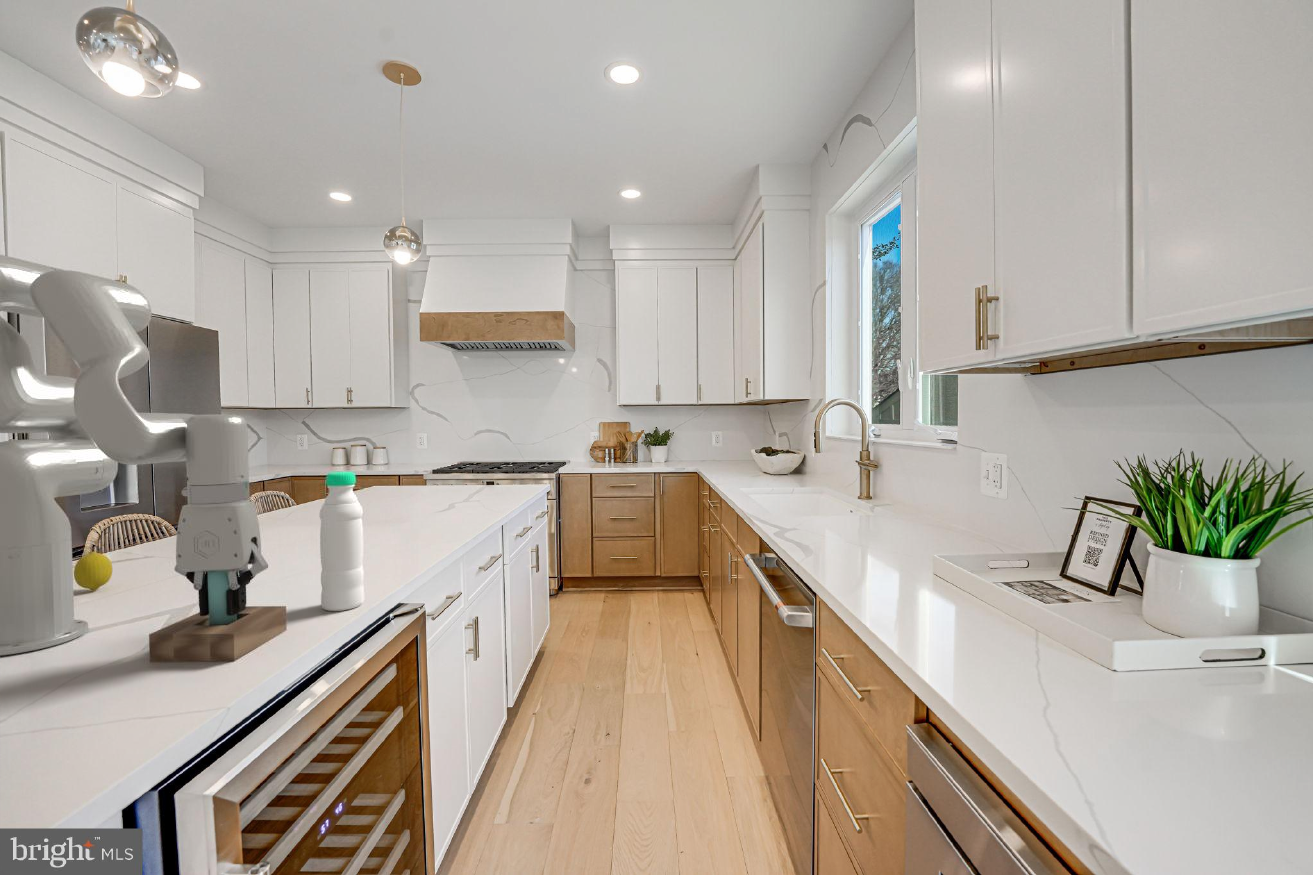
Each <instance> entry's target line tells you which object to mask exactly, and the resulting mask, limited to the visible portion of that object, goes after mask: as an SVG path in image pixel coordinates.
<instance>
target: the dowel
mask: <svg viewBox="0 0 1313 875" xmlns="http://www.w3.org/2000/svg"><path fill="white" fill-rule="evenodd" d="M229 589H231V588H230V584H229V578H228V572H227V571H211V572H208V602H209V625H229V624H231V623H233V622H235V621H237V614H235V615H233V616H228V615H227V601H226V592H227V590H229Z"/></svg>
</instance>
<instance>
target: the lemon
mask: <svg viewBox="0 0 1313 875" xmlns="http://www.w3.org/2000/svg"><path fill="white" fill-rule="evenodd" d="M112 575H113V564H112V561H111V559H110V558H109V557H108V556H106V555H105V554H103V553H98V552H96V551H90V552H89V553H87V554H86V555H84V556H82V557H81V558H79V560H78V561H77V562H76V564H75V566H74V570H73V579H74V580H75V582H76V584H77V585H78V586H79V587H80V588H84V589H88V590H89V591H91V592H95V591H97V590H98V589H99V588H100V587H102V586H105V585H107V583H108V582H110V579H111V578H112Z"/></svg>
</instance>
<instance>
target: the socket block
mask: <svg viewBox="0 0 1313 875" xmlns="http://www.w3.org/2000/svg"><path fill="white" fill-rule="evenodd" d="M286 631H287V606H285V605H282V606H281V605H280V606H279V605H278V606H277V605H273V606H272V605H269V606H268V605H267V606H266V605H263V606H262V605H258V606H255V605H254V606H253V605H252V606H248V605H246V608H245V610H243V611H241V612H239V613H237V621H235V622H233V623H231V624H229V625H209V614H208V615H206V616H200V611H199V612H196V613H195V614H192V615H190V616H188V617H186V618H185V617H184V618H183V619H181V620H178V621H176V622H174V623H172V624H170V625H167V626H165V627H162V628H160V629H158V630H156V631H153V632H151V633H149V634H148V643H149V644H148V646H149V647H148V649H149V662H150V663H151V662H152V663H154V662H155V663H157V662H158V663H166V662H168V663H170V662H175V663H176V662H179V663H180V662H181V663H182V662H184V663H185V662H235V661H237V660H239V659H241V658H242V657H244V656H245V655H248V654H249V653H250V652H252V651H254V650H256V649H257V648H259V647H261V646H263V645H265V643H267V642H269V641H271V640H273V639H275V638H276V637H277V636H279V635H281V634H283V633H285V632H286Z"/></svg>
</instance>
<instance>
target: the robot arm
mask: <svg viewBox="0 0 1313 875" xmlns="http://www.w3.org/2000/svg"><path fill="white" fill-rule="evenodd" d="M0 312H7V313H12V314H18V315H25V316H31V317H36V318H37V317H38V318H43V319H44V320H45V322H46V323H47V325H48V326H49V328H50V329H51V330H52V331H53V333H54V334H55V336H56V337H57V340H59V342H60V344H62V346H63V348H64V349H65V350H66V352H67V353H68V355H69V356H70V358H71V359H72V360H73V361H74V363H75V364H76V366H77V368H78V369H79V373H78V376H77V377H76V378H73V377H70V376H62V375H54V374H53V375H52V374H50V375H49V374H43V373H41V372H39V371H38V369H37V368H36V366H35V363H34V360H33V357H32V352H31V349H30V347H29V345H28V344H27V341H26V340H25V339H24V337H23V336H22V335H21V334H20V333H19V332H18V330H17V329H16V328H15V327H13V325H12V324H10V323H9V322H8V321H7V320H6V319H4V318H3V316H2V315H0V434H35V433H36V434H39V433H43V434H45V433H47V434H48V436H49V438H33V439H32V438H31V439H15V440H14V439H13V440H12V439H11V440H5V441H1V442H0V657H1V656H9V655H14V654H21V653H28V652H32V651H38V650H43V649H46V648H50V647H54V646H57V645H61V644H64V643H66V642H69V641H72V640H75V639H77V638H79V637H81V636H83V635H84V634H85V633H87V632H88V631H89V622H87V621H85V620H82V619H75V601H74V600H75V599H74V570H73V547H72V546H73V543H72V542H73V541H72V526H71V522H70V519H69V517H68V516H67V514H66V512H64V510H63V509H62V507H61V506H60V505H59V504H58V503H57V501H56V500H55V498H59V497H69V496H76V495H77V496H78V495H83V494H84V495H85V494H90V493H96V492H99V491H101V490H104V489H105V488H107V487H109V486H110V485H111V484H112V483H113V482H114V480H115V479H116V477H117V474H118V470H119V468H118V467H119V464H122V465H130V466H135V465H137V466H139V465H148V464H149V465H150V464H161V463H176V462H186V464H185V465H186V484H187V485H186V487H183V488H182V489H181V495H182V496H183V497H187V504H185V505H182V506H181V511H180V514H179V518H178V524H177V530H176V544H175V546H176V547H175V562H176V564H175V566H174V571H175V572H176V573H177V574H180V575H181V576H183V577H185V578H186V579H187V580H188V581H189V582H190V583H191V584H192V585H193V589H194V590H195V591H198V593H197V594H198V608H199V612H200V616H206V615H208V614H209V602H208V572H211V571H227V572H228V578H229V584H230V588H231V589H229V590H227V592H226V601H227V615H228V616H233V615H235V614H237V613H239V612H241V611H243V610H245V608H246V606H247V586H248V585H249V584H250V583H251V582H252V580H253V579H254V578H255V577H256V576H257V575H258V574H261V573H262V572H264V571H265V570H267V569H268V568H269V564H268V562H267V561H266V559H265V558H264V556H263V554H262V541H261V540H262V538H261V530H260V525H259V518H258V513H257V510H256V506H255V502H253V501H251V500H250V496H251V494H250V475H249V474H250V469H249V467H250V466H249V464H250V463H249V441H248V440H249V438H248V437H249V436H248V423H247V420H246V419H245V418H244V417H243V416H242V415H237V414H221V413H220V414H216V413H215V414H192V413H176V412H175V413H174V412H173V413H169V412H168V413H167V412H138V411H137V410H136V409H135V407H134V406H133V405H132V404H131V402H130V401H129V400H128V398H127V396H126V395H125V394H124V391H123V390H122V388H121V386H120V383H119V380H120V379H123V378H125V377H128V376H130V375H132V374H134V373H136V372H137V371H139V370H140V369H142V368H143V367H144V366H145V365H146V364H147V363H148V362H149V359H150V351H149V349H148V347H147V345H146V344H145V343H144V342H143V340H142V338H141V337H140V336H139V335H138V333H139V332H141V331H143V330H144V329H146V328H147V327H148V326H149V324H150V322H151V319H152V315H153V314H152V307H151V305H150V302H149V300H148V299H147V297H146V296H145V295H144V293H143V292H141V290H140V289H137V287H135V286H133V285H131V284H129V283H125V282H122V281H119V280H114V279H110V278H106V277H102V276H98V275H95V274H90V273H87V272H82V271H75V270H66V269H61V268H57V267H53V266H49V265H45V264H41V263H37V262H32V261H27V260H24V259H21V258H16V257H13V256H7V255H4V254H0ZM249 565H251V567H249Z"/></svg>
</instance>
